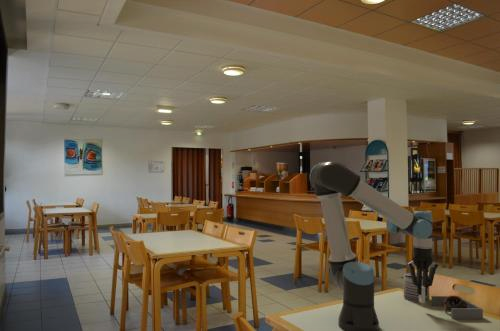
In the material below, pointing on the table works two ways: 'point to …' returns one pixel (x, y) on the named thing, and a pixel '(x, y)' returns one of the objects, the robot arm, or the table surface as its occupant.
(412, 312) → the table surface
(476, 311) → the box
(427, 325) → the table surface
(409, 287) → the can
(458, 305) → the brown ring with knob
